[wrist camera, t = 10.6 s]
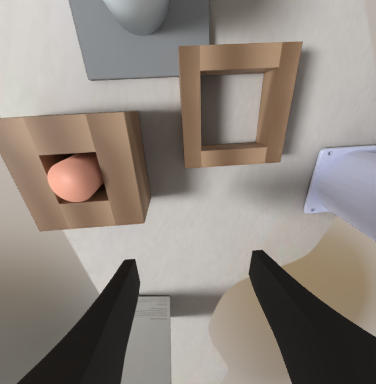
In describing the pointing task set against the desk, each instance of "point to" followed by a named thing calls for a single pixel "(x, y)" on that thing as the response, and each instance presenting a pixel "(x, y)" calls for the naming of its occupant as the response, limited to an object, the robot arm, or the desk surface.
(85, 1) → the pad
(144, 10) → the cylinder
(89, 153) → the plunger
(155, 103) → the desk surface
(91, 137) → the plunger housing
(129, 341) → the skincare box
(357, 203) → the robot arm
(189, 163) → the sleeve
